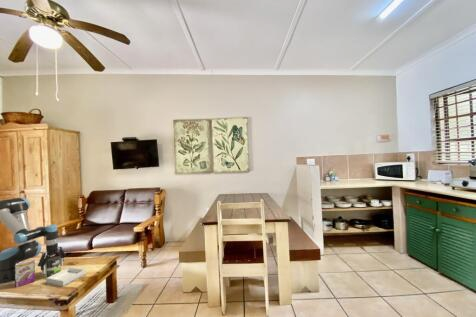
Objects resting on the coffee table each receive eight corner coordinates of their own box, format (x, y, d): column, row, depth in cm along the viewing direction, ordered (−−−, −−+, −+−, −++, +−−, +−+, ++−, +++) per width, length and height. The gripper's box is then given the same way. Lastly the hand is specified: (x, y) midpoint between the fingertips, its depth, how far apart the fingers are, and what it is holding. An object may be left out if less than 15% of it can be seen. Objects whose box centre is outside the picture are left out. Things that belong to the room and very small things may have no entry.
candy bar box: (15, 287, 168) (14, 266, 168) (15, 285, 172) (14, 263, 172) (35, 282, 176) (34, 261, 176) (35, 279, 180) (34, 259, 180)
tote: (46, 283, 173) (45, 278, 173) (69, 271, 191) (69, 267, 191) (63, 286, 168) (63, 281, 168) (85, 274, 186) (85, 269, 186)
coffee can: (63, 272, 191) (63, 255, 190) (51, 278, 180) (51, 261, 180) (53, 271, 193) (53, 254, 193) (41, 277, 182) (40, 260, 182)
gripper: (38, 250, 173) (39, 277, 173) (70, 238, 197) (71, 263, 197) (31, 249, 175) (32, 276, 175) (63, 238, 199) (64, 262, 199)
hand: (52, 269), depth 186 cm, fingers open, 13 cm apart
